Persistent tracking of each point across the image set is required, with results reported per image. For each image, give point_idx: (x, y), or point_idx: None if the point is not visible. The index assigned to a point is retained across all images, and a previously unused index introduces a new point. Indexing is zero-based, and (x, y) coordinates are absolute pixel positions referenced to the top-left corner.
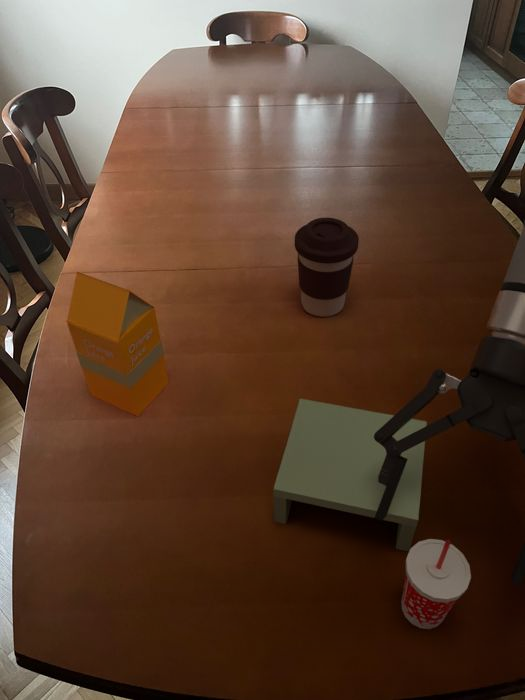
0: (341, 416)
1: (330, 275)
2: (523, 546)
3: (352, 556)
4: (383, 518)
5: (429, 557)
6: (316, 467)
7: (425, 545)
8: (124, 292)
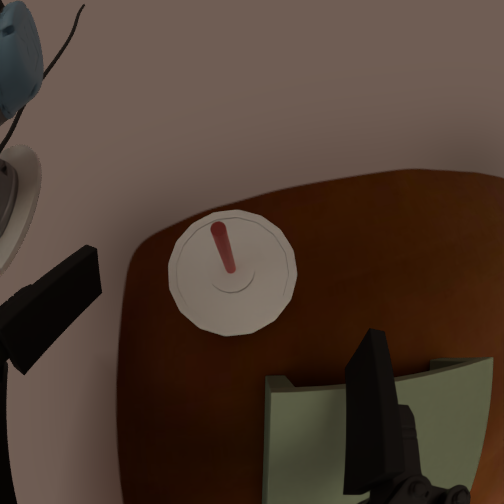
0: None
1: None
2: (63, 318)
3: (344, 346)
4: (359, 346)
5: (249, 290)
6: (450, 425)
7: (259, 316)
8: None
